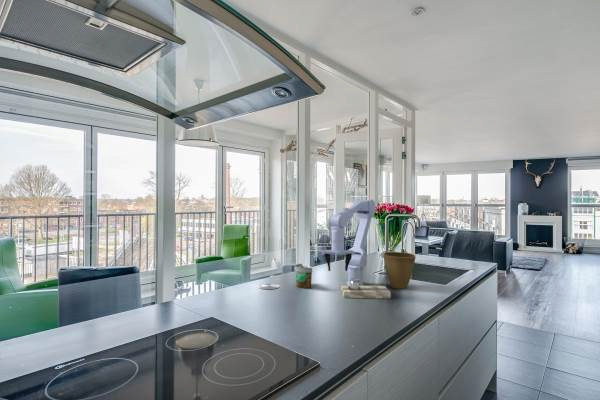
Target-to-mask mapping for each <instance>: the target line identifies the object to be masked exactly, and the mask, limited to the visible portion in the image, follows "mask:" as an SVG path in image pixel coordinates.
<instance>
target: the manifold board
mask: <svg viewBox="0 0 600 400" xmlns="http://www.w3.org/2000/svg"><path fill="white" fill-rule="evenodd" d="M341 294H342V296H343V298H344V299H391V298H392V292H391V291H390V290H389V289H388V288H387V287H386V286H385V285H364V286H359V290H350V285H347V284H346V285H345V284H344V285H341Z"/></svg>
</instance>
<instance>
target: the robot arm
mask: <svg viewBox="0 0 600 400" xmlns="http://www.w3.org/2000/svg"><path fill="white" fill-rule="evenodd" d="M376 208H377V207H376V202H375V200H374V199H372V198H371V199H355V200H354V201H353V204H352V205H351V206H349V207H343V208H342V210H340V211H339V212H337V214H332V215H331V216H330V217H329V220H328V225H329V227H330V231H331V249H321V255H322V256H324V258H325V261H326V263H327V269H328V272H331V255H332V256H339V255H340V256H344V270H345V271H344V272H347V281H346V285H350V278H359V286H365V285H364V269H365V267H366V266H367V263H368V254H367V252H366V251H365V244H366V241H367V237H368V233H369V229H370V225H371V222H372V219H373V218H374V215H375V212H376ZM355 213H356V215H357V217H358V218H359V219H360V221H359V225H358V227H357V232H356V236H355V239H354V242H353V246H352V247H351V248H349V249H345V228H346V226H347V224H348V222H349V221H350V220H351V219H353V217H354V214H355Z"/></svg>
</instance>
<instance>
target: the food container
mask: <svg viewBox="0 0 600 400" xmlns="http://www.w3.org/2000/svg"><path fill="white" fill-rule="evenodd" d="M293 270H294V271H295V281H296V288H298V289H306V290H307V289H309V290H310V289H312V275H313V274H312V273H313V267H308V266H304V265H303V264H302V263H298V264H295V266H294V269H293Z"/></svg>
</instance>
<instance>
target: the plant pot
mask: <svg viewBox="0 0 600 400" xmlns="http://www.w3.org/2000/svg"><path fill="white" fill-rule="evenodd" d="M383 260H384V265H385V272H386V275H387V279H388V281H389V284H390V287H391V288H393V289H397V290H406V289H407V288H408V285H409V283H410V280H411V277H412V274H413V270H414V266H415V262H416V254H412V253H409V252H399V251H387V252H384V253H383Z"/></svg>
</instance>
